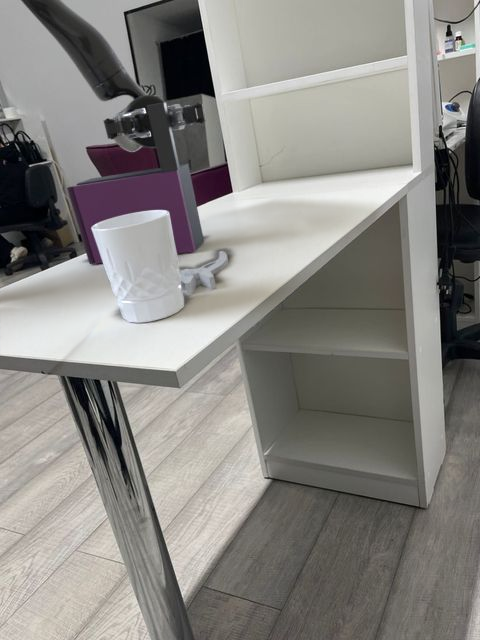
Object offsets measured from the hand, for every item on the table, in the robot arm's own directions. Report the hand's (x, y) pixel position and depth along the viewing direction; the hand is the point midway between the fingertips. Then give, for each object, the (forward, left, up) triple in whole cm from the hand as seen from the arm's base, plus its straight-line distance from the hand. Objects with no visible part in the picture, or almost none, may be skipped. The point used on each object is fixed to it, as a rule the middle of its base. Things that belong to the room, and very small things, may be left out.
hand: (160, 120), depth 72 cm
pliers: (+4, -12, -19) cm, 22 cm away
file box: (-7, +4, -19) cm, 20 cm away
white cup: (+3, -24, -19) cm, 30 cm away
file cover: (-8, +1, -18) cm, 20 cm away
